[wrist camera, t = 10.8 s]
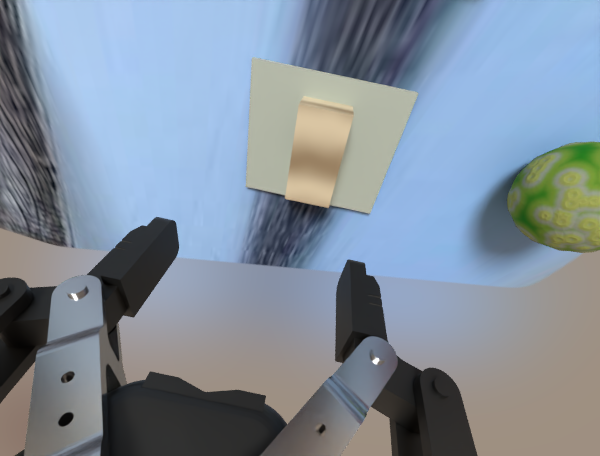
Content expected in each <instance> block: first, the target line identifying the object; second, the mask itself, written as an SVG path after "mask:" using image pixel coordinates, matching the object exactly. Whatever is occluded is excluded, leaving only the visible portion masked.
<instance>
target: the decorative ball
mask: <svg viewBox="0 0 600 456" xmlns="http://www.w3.org/2000/svg"><path fill="white" fill-rule="evenodd" d="M507 206H508V211H509V213H510V214H511V216H512V218H513V221H514V223H515V225H516V227H517V228H518V229H519V230H520V231H521V232H522V233H523V234H524V235H526V236H527V237H528V238H530V239H531V240H533V241H535V242H537V243H540V244H543V245H546V246H549V247H552V248H554V249H557V250H561V251H573V252H579V253H585V252H594V251H598V250H600V142H575V143H570V144H566V145H564V146H561V147H559V148H557V149H554V150H552V151H549V152H547V153H545V154H542V155H540V156H538V157H536V158H535V159H533V160H532V161H531V162H530V163H529V164H528V165H527V166H526V167H525V168H524V169H523V170H522V171H521V172H520V173H519V174H518V175H517V176H516V178H515V180H514V182H513V184H512V186H511V188H510V191H509V193H508V198H507Z"/></svg>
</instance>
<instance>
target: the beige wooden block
mask: <svg viewBox="0 0 600 456" xmlns="http://www.w3.org/2000/svg"><path fill="white" fill-rule="evenodd" d="M353 117H354V112H353V106H349V105H344V104H340V103H335V102H330V101H325V100H320V99H316V98H311V97H306V96H303V98H302V100H301V101H300V103H299V106H298V113H297V120H296V126H295V133H294V140H293V147H292V154H291V160H290V167H289V174H288V181H287V187H286V194H285V199H288V200H293V201H298V202H303V203H307V204H312V205H317V206H321V207H326V208H329V205H330V201H331V197H332V194H333V190H334V186H335V183H336V179H337V175H338V172H339V168H340V164H341V161H342V157H343V154H344V150H345V146H346V143H347V139H348V135H349V132H350V128H351V124H352V121H353Z"/></svg>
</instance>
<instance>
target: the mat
mask: <svg viewBox="0 0 600 456" xmlns="http://www.w3.org/2000/svg"><path fill="white" fill-rule="evenodd" d="M303 96H306V97H311V98H316V99H320V100H325V101H330V102H335V103H340V104H344V105H349V106H353V112H354V117H353V121H352V124H351V128H350V132H349V135H348V139H347V143H346V146H345V150H344V154H343V157H342V161H341V164H340V168H339V172H338V175H337V179H336V183H335V186H334V190H333V194H332V197H331V201H330V205H332V206H337V207H342V208H346V209H351V210H355V211H360V212H365V213H369V214H370V212H371V210H372V207H373V205H374V202H375V200H376V197H377V195H378V193H379V190H380V188H381V185H382V183H383V180H384V178H385V175H386V173H387V170H388V168H389V165H390V163H391V160H392V158H393V155H394V153H395V150H396V148H397V145H398V143H399V140H400V138H401V135H402V133H403V131H404V128H405V126H406V123H407V121H408V118H409V116H410V113H411V111H412V108H413V106H414V103H415V101H416V98H417V96H418V93H417V92H414V91H409V90H404V89H400V88H395V87H391V86H386V85H381V84H377V83H372V82H367V81H363V80H358V79H353V78H349V77H344V76H339V75H335V74H330V73H325V72H321V71H316V70H311V69H307V68H302V67H297V66H293V65H288V64H283V63H279V62H274V61H269V60H265V59H260V58H255V57H253V58H252V67H251V88H250V109H249V131H248V152H247V173H246V187H250V188H254V189H259V190H264V191H268V192H273V193H277V194H282V195H285V194H286V187H287V181H288V174H289V167H290V160H291V154H292V147H293V140H294V133H295V126H296V120H297V113H298V106H299V103H300V101H301V100H302V98H303Z"/></svg>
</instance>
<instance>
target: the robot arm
mask: <svg viewBox="0 0 600 456" xmlns="http://www.w3.org/2000/svg"><path fill="white" fill-rule="evenodd" d="M178 250H179V242H178V234H177V227H176V222H175V221H173V220H169V219H164V218H160V217H156V218H154V219H153V220H152V221H151V222H150V223H149V224H148V226H140V227H138V228H136V229H134V230H132V231H131V232H129V233H128V234H127V235H126V236H125V237H124V238H123V239H122V242H121V241H120V242H119V243H118V244H117V245H116V246H115V248H113V249H112V250H111V251H110V252H109V253H108V254H107V255H106V256H105V257H104V258H103V259H102V260H101V261H100V262H99V263H98V264H97V265H96V266H95V267H94V268H93V269H92V270H91V271H90V272H89V273H88V274H87V275H81V276H76V277H73V278H70V279H68V280H66V281H64V282H62V283H61V284H60V285H58V286H54V287H36V288H29V287H28V286H27V284H26V283H25V281H23V280H21V279H19V278H3V279H0V403H1V402H2V401H3V399H4V398H5V397H6V396H7V394H8V393H9V392H10V391H11V389H12V388H13V387H14V386H15V385H16V383H17V382H18V381H19V380H20V379H21V378H22V376H23V375H24V374H25V373H26V372H27V370H28V369H29V368H30V367H31V366H32V364H33V363H34V362H35V369H34V378H33V385H32V393H31V402H30V410H29V418H28V427H27V434H26V442H25V449H24V450H23V451H21V452H20V453H18V454H17V455H15V456H340V455H341V454H342V452H343V451H344V449H345V448H346V446H347V445H348V443H349V442H350V440H351V439H352V437H353V436H354V434H355V433H356V431H357V430H358V428H359V426H360V425H361V424H362V422H363V420H364V419H365V417H366V415H367V412H368V410H369V408H370V407H373V408H374V409H376V410H377V411H379V412H381V413H382V414H384V415H385V416H387V417H389V418H390V432H391V445H392V456H477V452H476V449H475V445H474V441H473V438H472V434H471V430H470V427H469V423H468V420H467V416H466V412H465V409H464V405H463V401H462V397H461V394H460V391H459V389H458V387H457V385H456V383H455V382H454V381H453V380H452V379H451V377H449V376H448V375H447V374H446V373H445V372H443V371H441V370H439V369H436V368H427V369H425V370H424V371H421V370H419V369H417V368H415V367H414V366H412V365H410V364H408V363H406V362H405V361H403V360H401V359H400V358H399V357H398V356H397V355H396V353H395V351H394V349H393V348H392V346H391V345H390V344H389V343H388V340H387V334H386V328H385V321H384V314H383V308H382V300H381V294H380V288H379V285H378V283H377V282H376V280H375V278H374V277H373V276H369V275H366V268H365V263H362V262H358V261H353V260H347V262H346V265H345V267H344V269H343V272H342V274H341V277H340V279H339V282H338V285H337V292H336V347H335V348H336V349H335V352H336V353H335V361H337V362H342V363H343V364H342V365H341V366H340V368H339V369H338V370H337V371H336V372H335V373H334V374H333V375H332V376H331V377H329V378H328V379H327V380H326V381H325V382H324V383H323V384H322V385H321V387H320V388H319V389H318V390H317V391H316V392H315V393H314V395H313V396H312V397H311V398H310V399H309V400H308V401H307V403H306V404H305V405H304V406H303V407H302V408H301V409H300V411H299V412H298V413H297V414H296V415H295V416H294V417H293V419H292V420H291V421H290V422H289V423H288V424H287V423H286V422H285V421H284V420H283V418H282V417H281V416H280V415H279V414H278V413H277V412H276V411H275V410H274V409H272V408H271V407H270V406H268V405H266V404H265V398H266V396H265V395H260V394H255V393H250V392H246V391H241V390H230V391H217V392H204V391H202V390H200V389H198V388H196V387H195V386H193V385H191V384H189V383H187V382H186V381H184V380H182V379H180V378H178V377H174V376H169V375H164V374H159V373H155V372H150V373H149V374H148V376H147V378H146V380H141V381H136V382H132V383H129V384H127V381H126V377H125V373H124V370H123V364H122V354H121V343H120V332H119V324H118V322H119V320H120V319H121V317H122V316H123V315H124V316H130V317H135V315H136V314H137V312H138V311H139V309H140V308H141V306H142V305H143V304H144V302H145V301H146V299H147V298H148V296H149V295H150V294H151V292H152V291H153V289H154V288H155V286H156V285H157V284H158V282H159V281H160V279H161V278H162V277H163V275H164V274H165V272H166V271H167V269H168V268H169V266H170V265H171V264H172V262H173V261H174V259H175V258H176V256H177V254H178Z"/></svg>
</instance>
